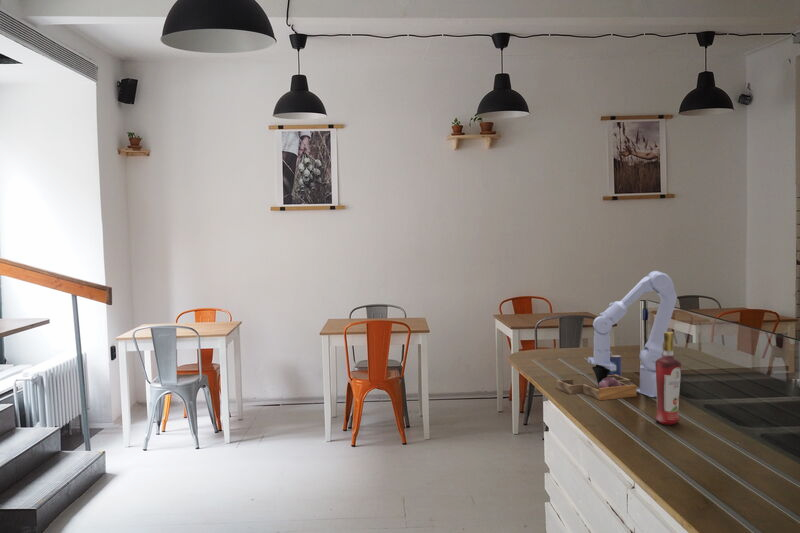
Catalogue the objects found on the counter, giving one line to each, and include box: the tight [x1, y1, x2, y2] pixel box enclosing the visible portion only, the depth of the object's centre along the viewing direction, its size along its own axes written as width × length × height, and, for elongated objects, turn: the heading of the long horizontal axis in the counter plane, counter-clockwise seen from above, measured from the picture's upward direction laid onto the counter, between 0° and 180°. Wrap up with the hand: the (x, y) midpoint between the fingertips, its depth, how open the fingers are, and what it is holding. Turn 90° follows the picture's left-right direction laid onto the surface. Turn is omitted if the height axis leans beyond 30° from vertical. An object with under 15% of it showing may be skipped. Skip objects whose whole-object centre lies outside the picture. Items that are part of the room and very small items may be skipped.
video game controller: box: [598, 377, 622, 388], centre depth 227 cm, size 10×5×7 cm, turn 133°
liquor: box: [655, 331, 682, 426], centre depth 193 cm, size 7×7×28 cm
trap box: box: [555, 374, 638, 401], centre depth 230 cm, size 20×26×4 cm
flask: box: [608, 351, 622, 377], centre depth 250 cm, size 9×3×11 cm, turn 88°
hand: (601, 386), depth 231 cm, fingers closed
